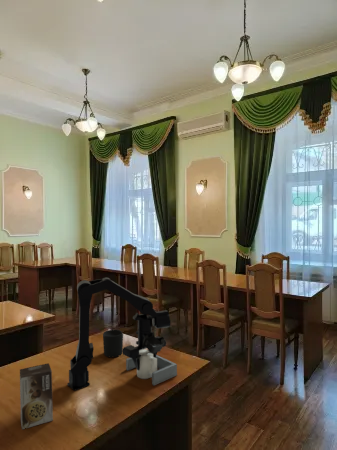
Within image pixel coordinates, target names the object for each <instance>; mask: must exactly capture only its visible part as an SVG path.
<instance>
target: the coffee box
mask: <svg viewBox="0 0 337 450" xmlns="http://www.w3.org/2000/svg"><path fill="white" fill-rule="evenodd" d="M52 373H53V371H52V369H51V365H50V363H42V364H39V365H34V366H30V367H29V366H28V367H24V368H21V369H19V394H20V396H19V397H20V398H19V400H20V424H21V425H20V426H21V430H25V428H26V429H29V428H32V427H35V426H38V425H42V424H46V423H49V422H52V421H53V420H54V415H53V411H54V410H53V409H54V408H53V379H52V378H53V377H52V376H53V374H52Z"/></svg>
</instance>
